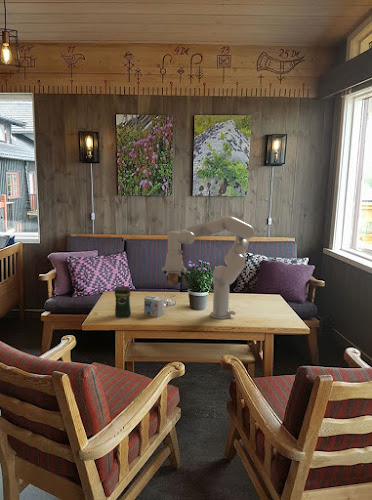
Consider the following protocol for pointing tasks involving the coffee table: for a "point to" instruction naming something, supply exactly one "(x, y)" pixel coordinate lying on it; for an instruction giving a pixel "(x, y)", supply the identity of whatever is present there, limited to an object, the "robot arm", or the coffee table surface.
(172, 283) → the walnut cube
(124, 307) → the coffee jar
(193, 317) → the coffee table surface
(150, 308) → the light bulb box
